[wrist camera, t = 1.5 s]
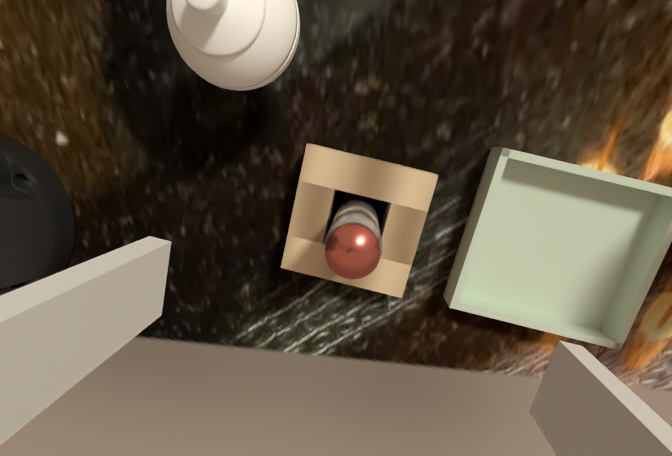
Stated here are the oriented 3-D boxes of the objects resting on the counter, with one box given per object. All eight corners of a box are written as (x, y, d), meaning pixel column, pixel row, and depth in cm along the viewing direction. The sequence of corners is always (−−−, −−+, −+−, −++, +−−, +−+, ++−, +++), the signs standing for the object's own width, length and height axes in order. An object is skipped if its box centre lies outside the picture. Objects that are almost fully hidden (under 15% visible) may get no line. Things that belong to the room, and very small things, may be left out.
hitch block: (288, 256, 32) (280, 267, 29) (312, 143, 30) (306, 143, 27) (398, 284, 32) (401, 298, 29) (431, 172, 30) (438, 175, 27)
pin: (332, 230, 31) (316, 273, 20) (342, 192, 30) (329, 216, 20) (371, 239, 31) (374, 288, 20) (381, 202, 30) (390, 231, 20)
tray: (442, 295, 32) (449, 307, 29) (491, 147, 29) (502, 147, 26) (600, 334, 31) (620, 350, 29) (665, 189, 28) (694, 193, 26)
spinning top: (249, 120, 30) (174, 103, 18) (202, 30, 28) (89, -52, 17) (332, 75, 28) (309, 25, 17) (287, -21, 27) (229, -148, 16)
